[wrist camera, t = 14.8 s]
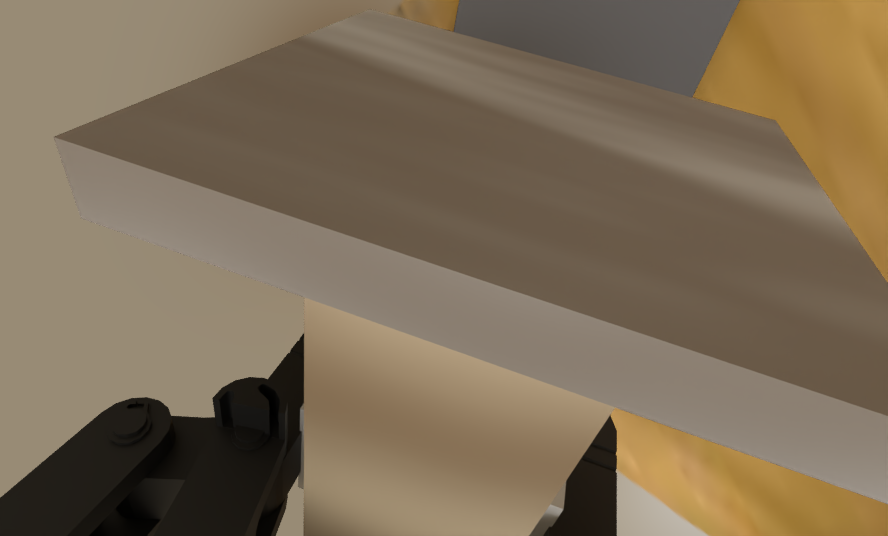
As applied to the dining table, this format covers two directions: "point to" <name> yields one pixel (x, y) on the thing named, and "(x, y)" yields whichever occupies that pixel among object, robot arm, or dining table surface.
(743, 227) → the push tool
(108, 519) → the robot arm
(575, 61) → the mat
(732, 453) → the dining table surface
